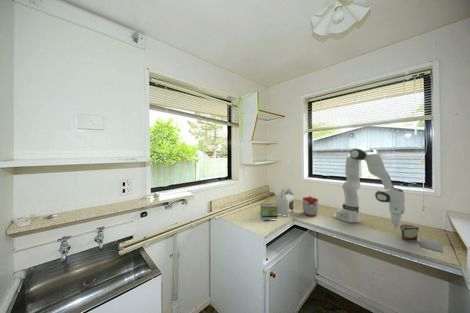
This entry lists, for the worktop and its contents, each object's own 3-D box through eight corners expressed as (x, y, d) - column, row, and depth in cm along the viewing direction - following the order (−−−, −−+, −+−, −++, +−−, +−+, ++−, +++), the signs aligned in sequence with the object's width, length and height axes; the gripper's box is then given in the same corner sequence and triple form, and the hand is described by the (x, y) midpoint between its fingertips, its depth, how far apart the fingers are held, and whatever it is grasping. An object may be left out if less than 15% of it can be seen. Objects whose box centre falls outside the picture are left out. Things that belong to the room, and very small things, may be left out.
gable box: (287, 217, 176) (287, 190, 175) (275, 214, 184) (275, 188, 183) (294, 210, 194) (294, 186, 193) (283, 208, 202) (283, 185, 201)
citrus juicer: (303, 217, 174) (303, 198, 173) (301, 211, 191) (301, 194, 190) (320, 218, 170) (320, 199, 169) (316, 212, 187) (316, 194, 186)
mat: (419, 246, 119) (419, 245, 119) (420, 238, 129) (420, 237, 129) (442, 252, 111) (442, 252, 111) (441, 243, 122) (441, 243, 122)
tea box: (262, 221, 167) (262, 206, 166) (260, 217, 177) (260, 203, 177) (277, 220, 167) (277, 206, 167) (274, 216, 177) (274, 202, 177)
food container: (410, 236, 133) (410, 223, 132) (419, 240, 127) (419, 227, 126) (395, 237, 132) (395, 224, 132) (403, 241, 126) (403, 228, 126)
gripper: (393, 205, 142) (393, 221, 143) (389, 211, 129) (389, 229, 129) (403, 206, 137) (403, 223, 138) (401, 213, 124) (401, 231, 124)
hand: (396, 226), depth 133 cm, fingers open, 8 cm apart
